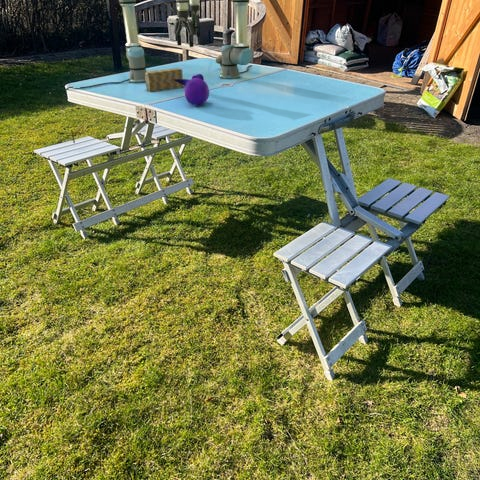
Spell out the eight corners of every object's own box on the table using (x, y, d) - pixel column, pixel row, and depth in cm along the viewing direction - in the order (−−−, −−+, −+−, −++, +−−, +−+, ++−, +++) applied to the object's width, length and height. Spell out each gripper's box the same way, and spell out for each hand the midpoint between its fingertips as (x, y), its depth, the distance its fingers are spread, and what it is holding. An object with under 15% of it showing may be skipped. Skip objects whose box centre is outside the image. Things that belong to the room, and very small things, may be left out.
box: (150, 91, 306) (148, 73, 300) (146, 90, 311) (144, 71, 305) (183, 87, 318) (182, 69, 312) (179, 85, 323) (177, 67, 317)
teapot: (219, 71, 369) (218, 51, 361) (212, 69, 377) (212, 49, 370) (241, 68, 378) (241, 49, 370) (234, 66, 386) (234, 47, 379)
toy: (197, 96, 290) (209, 111, 269) (171, 92, 283) (181, 106, 262) (203, 71, 282) (215, 85, 261) (175, 66, 275) (186, 79, 254)
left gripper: (203, 5, 329) (204, 37, 339) (195, 4, 349) (197, 33, 360) (193, 5, 327) (195, 37, 338) (186, 4, 347) (188, 34, 358)
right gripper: (166, 9, 292) (170, 45, 303) (189, 11, 276) (192, 48, 286) (176, 9, 296) (179, 43, 307) (199, 10, 280) (201, 47, 291)
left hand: (196, 35), depth 349 cm, fingers open, 13 cm apart
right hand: (185, 46), depth 297 cm, fingers open, 13 cm apart
